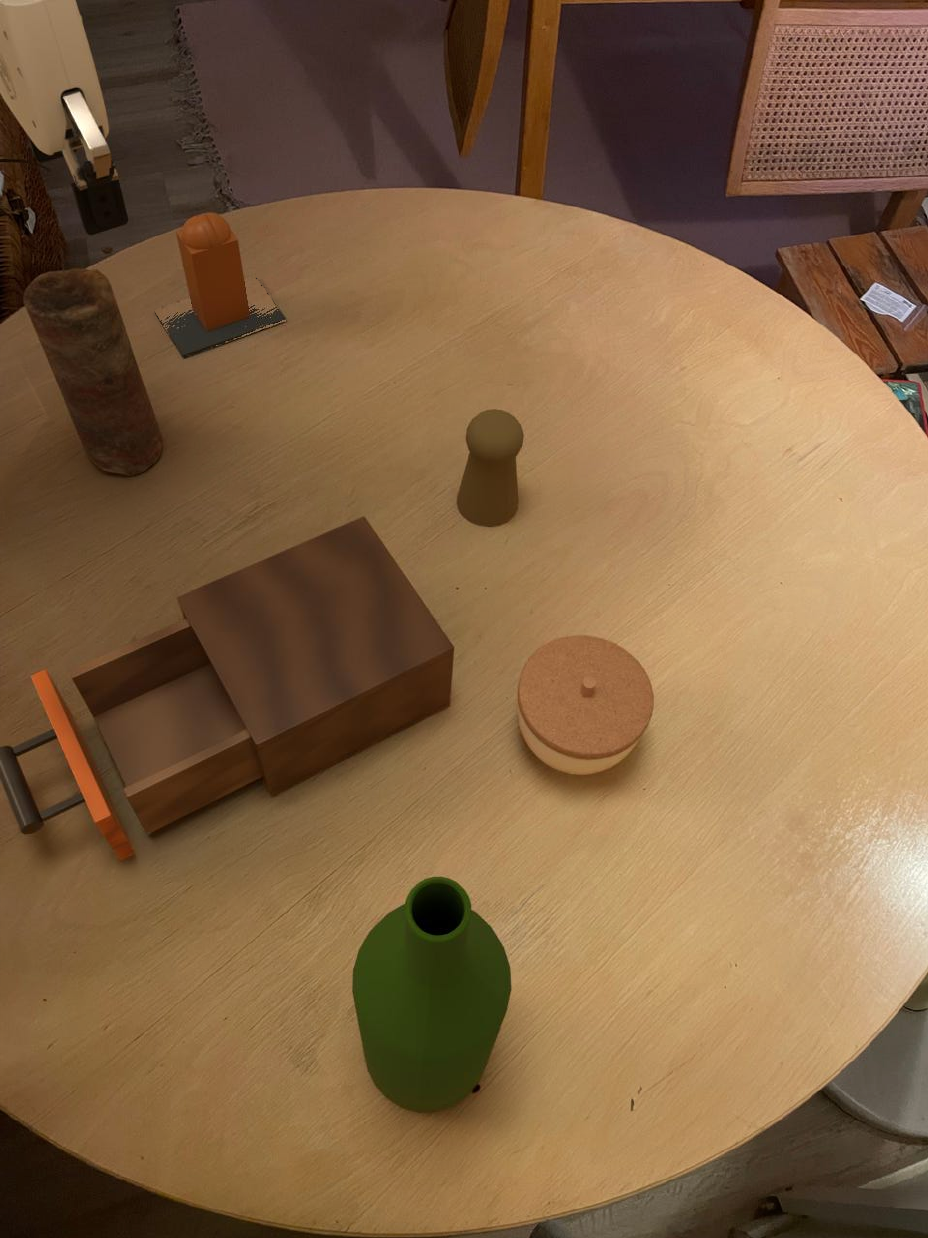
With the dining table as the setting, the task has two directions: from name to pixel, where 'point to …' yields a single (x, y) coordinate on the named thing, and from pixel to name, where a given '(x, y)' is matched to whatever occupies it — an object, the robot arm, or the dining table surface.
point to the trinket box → (583, 704)
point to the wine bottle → (430, 997)
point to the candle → (95, 368)
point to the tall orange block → (213, 270)
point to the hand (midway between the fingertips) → (81, 190)
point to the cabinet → (322, 651)
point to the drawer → (142, 736)
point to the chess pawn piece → (491, 469)
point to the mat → (199, 339)
